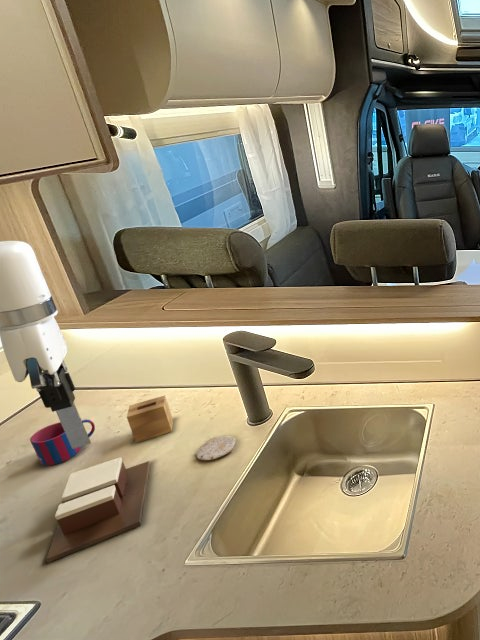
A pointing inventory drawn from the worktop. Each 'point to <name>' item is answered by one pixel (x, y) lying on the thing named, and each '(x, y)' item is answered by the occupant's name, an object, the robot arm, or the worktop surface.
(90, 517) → the cake slice
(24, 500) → the worktop surface
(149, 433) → the knife block
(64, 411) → the knife
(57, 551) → the cake board
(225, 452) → the flatbread
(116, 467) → the cake
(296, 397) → the worktop surface
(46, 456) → the mug
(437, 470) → the worktop surface
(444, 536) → the worktop surface
